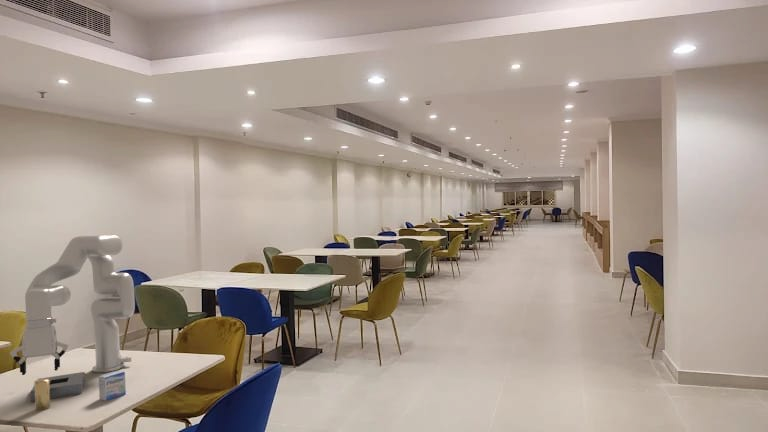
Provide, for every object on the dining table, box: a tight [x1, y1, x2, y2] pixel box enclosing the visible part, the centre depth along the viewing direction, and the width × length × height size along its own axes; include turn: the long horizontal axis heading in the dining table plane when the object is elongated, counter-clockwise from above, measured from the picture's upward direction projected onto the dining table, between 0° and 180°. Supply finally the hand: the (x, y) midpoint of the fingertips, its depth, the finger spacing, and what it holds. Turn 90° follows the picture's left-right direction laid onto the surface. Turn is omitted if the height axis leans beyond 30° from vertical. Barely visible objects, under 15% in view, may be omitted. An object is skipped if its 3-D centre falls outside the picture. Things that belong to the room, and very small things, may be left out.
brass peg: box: [33, 378, 51, 412], centre depth 182 cm, size 4×4×10 cm
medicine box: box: [98, 370, 127, 402], centre depth 192 cm, size 8×4×9 cm, turn 148°
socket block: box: [30, 371, 86, 403], centre depth 200 cm, size 16×16×4 cm
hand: (40, 371), depth 182 cm, fingers open, 9 cm apart
